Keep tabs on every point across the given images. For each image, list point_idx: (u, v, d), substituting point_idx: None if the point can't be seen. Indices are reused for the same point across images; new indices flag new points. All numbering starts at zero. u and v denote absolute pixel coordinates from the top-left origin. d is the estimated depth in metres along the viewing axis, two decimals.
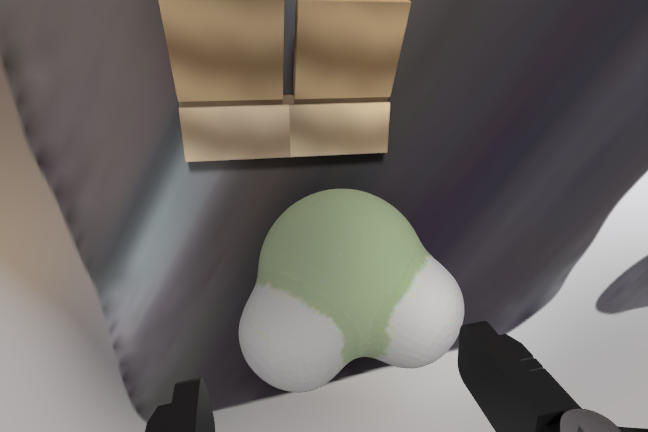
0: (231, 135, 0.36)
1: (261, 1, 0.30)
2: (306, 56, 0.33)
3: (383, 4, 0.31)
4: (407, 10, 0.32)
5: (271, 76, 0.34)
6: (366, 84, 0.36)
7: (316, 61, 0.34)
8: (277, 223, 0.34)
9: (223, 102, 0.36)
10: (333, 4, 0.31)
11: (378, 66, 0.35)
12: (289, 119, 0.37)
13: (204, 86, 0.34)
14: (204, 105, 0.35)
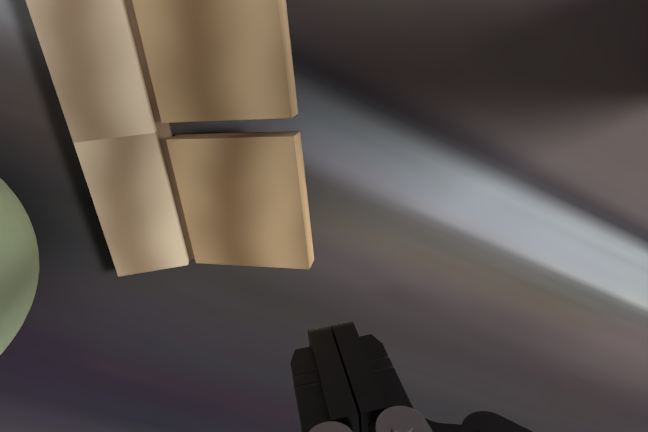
0: (84, 45, 0.22)
1: (286, 87, 0.22)
2: (226, 151, 0.25)
3: (303, 238, 0.26)
4: (300, 266, 0.27)
5: (190, 104, 0.24)
6: (205, 231, 0.27)
7: (222, 165, 0.25)
8: None
9: (137, 31, 0.23)
10: (295, 180, 0.24)
11: (230, 243, 0.27)
12: (133, 135, 0.25)
13: (154, 0, 0.22)
14: None
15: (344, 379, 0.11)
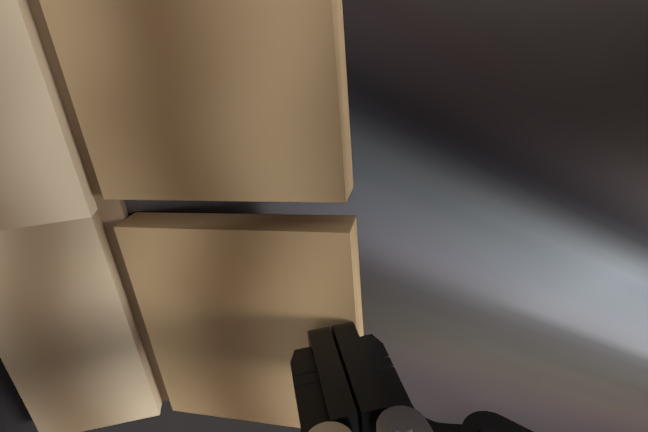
0: None
1: (338, 146, 0.11)
2: (222, 252, 0.14)
3: None
4: None
5: (153, 171, 0.13)
6: (187, 369, 0.16)
7: (215, 273, 0.14)
8: None
9: (50, 35, 0.12)
10: (347, 305, 0.13)
11: (229, 389, 0.16)
12: (52, 222, 0.14)
13: None
14: None
15: (343, 379, 0.11)
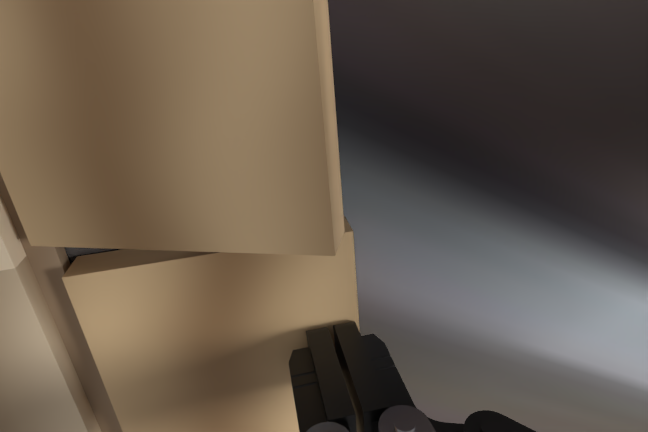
0: None
1: (324, 185, 0.08)
2: (212, 279, 0.12)
3: None
4: None
5: (89, 213, 0.10)
6: (165, 428, 0.14)
7: (202, 305, 0.12)
8: None
9: None
10: (350, 305, 0.13)
11: None
12: None
13: None
14: None
15: (341, 379, 0.11)
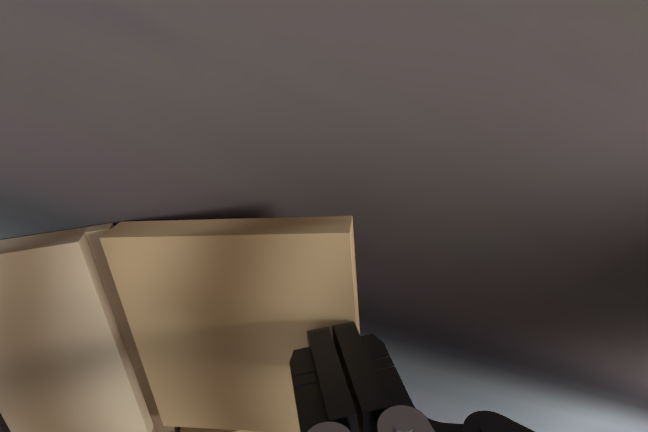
0: (43, 355, 0.15)
1: None
2: None
3: None
4: None
5: (209, 411, 0.16)
6: None
7: None
8: None
9: (124, 318, 0.16)
10: None
11: None
12: None
13: (155, 296, 0.14)
14: (105, 283, 0.15)
15: (342, 379, 0.11)
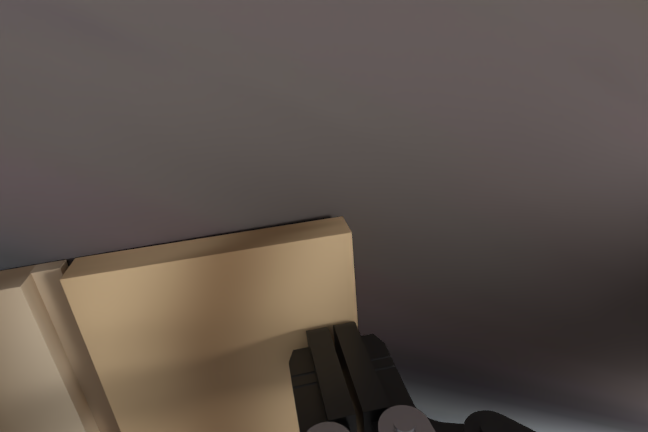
0: None
1: None
2: None
3: None
4: None
5: None
6: None
7: None
8: None
9: (82, 368, 0.13)
10: None
11: None
12: None
13: (134, 336, 0.12)
14: (58, 331, 0.13)
15: (342, 379, 0.11)
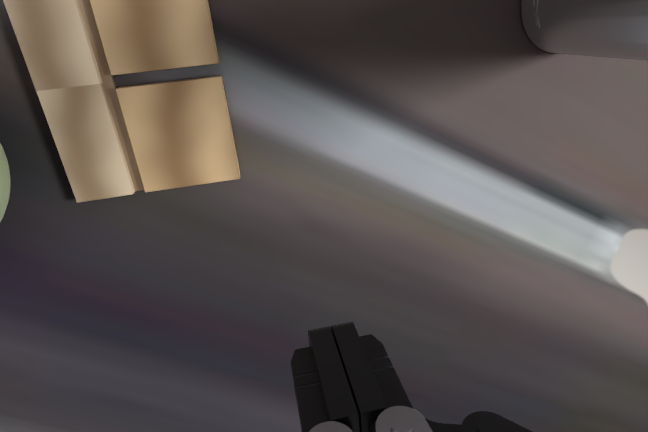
0: (42, 14, 0.30)
1: (212, 41, 0.32)
2: (168, 93, 0.33)
3: (233, 154, 0.36)
4: (233, 177, 0.37)
5: (136, 58, 0.32)
6: (153, 162, 0.35)
7: (165, 105, 0.34)
8: None
9: (83, 3, 0.31)
10: (224, 110, 0.34)
11: (175, 169, 0.36)
12: (83, 85, 0.32)
13: None
14: None
15: (344, 379, 0.11)
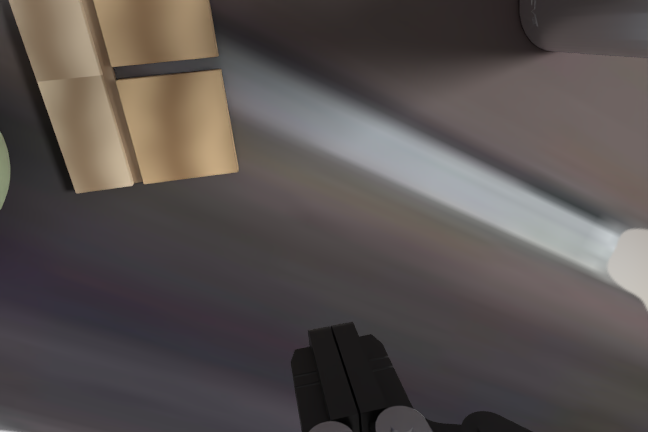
0: (43, 5, 0.30)
1: (212, 34, 0.33)
2: (168, 86, 0.34)
3: (232, 148, 0.36)
4: (231, 170, 0.37)
5: (137, 51, 0.32)
6: (152, 154, 0.35)
7: (165, 97, 0.34)
8: None
9: None
10: (223, 103, 0.35)
11: (174, 161, 0.36)
12: (84, 76, 0.32)
13: None
14: None
15: (344, 379, 0.11)
